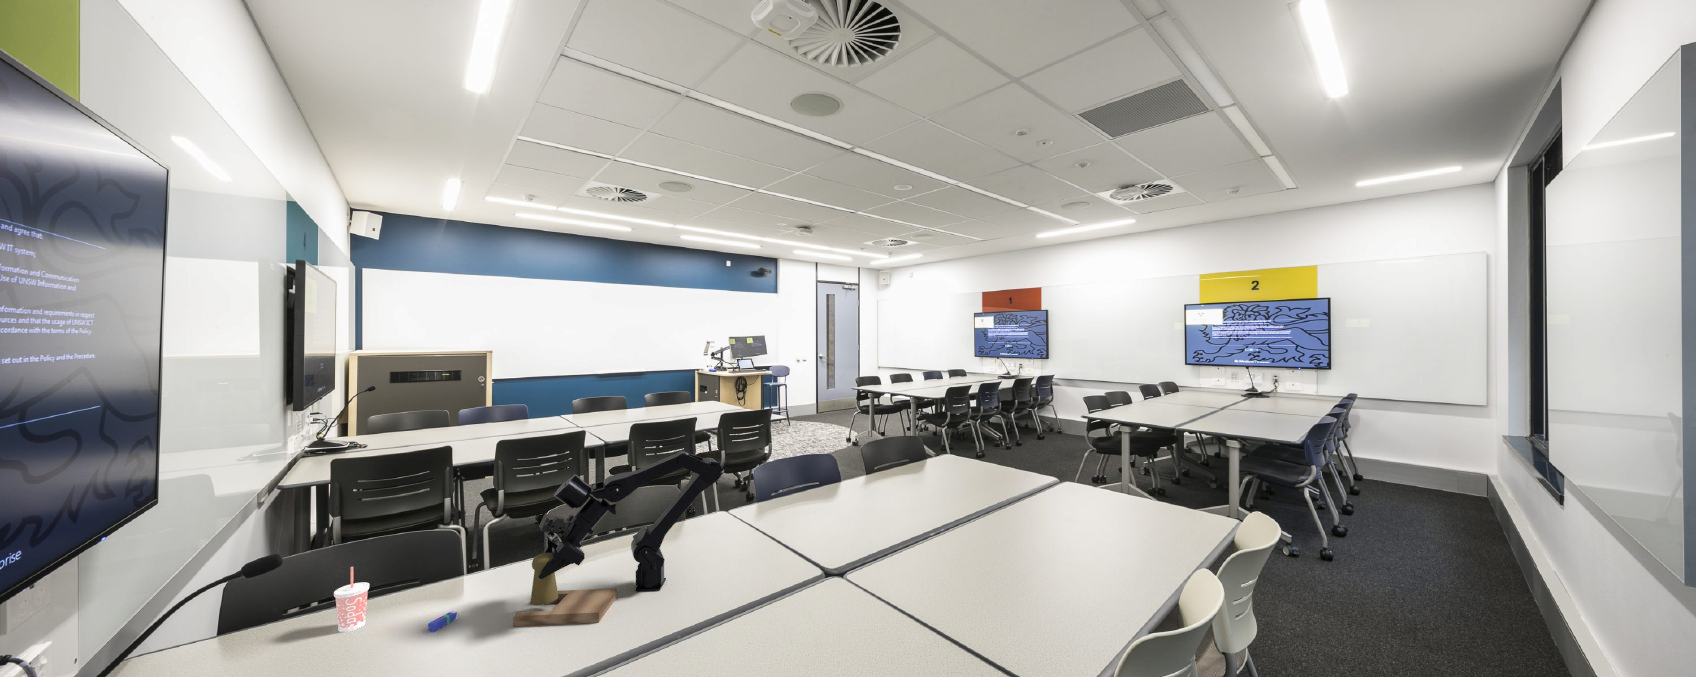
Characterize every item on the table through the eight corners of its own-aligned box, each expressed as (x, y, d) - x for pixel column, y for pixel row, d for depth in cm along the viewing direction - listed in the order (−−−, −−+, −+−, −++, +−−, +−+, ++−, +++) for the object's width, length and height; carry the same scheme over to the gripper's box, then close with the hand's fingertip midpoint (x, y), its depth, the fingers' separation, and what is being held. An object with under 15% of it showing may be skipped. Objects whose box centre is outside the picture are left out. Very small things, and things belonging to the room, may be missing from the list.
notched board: (616, 597, 137) (616, 588, 137) (598, 622, 125) (598, 612, 125) (538, 600, 135) (538, 591, 135) (512, 626, 123) (512, 615, 123)
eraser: (458, 618, 127) (458, 610, 127) (434, 632, 121) (434, 623, 121) (451, 618, 127) (451, 609, 127) (427, 631, 121) (427, 622, 121)
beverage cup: (329, 636, 119) (328, 574, 119) (339, 623, 124) (339, 564, 124) (364, 629, 122) (364, 569, 121) (373, 616, 127) (373, 559, 127)
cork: (564, 595, 131) (563, 551, 131) (542, 607, 126) (542, 561, 126) (545, 591, 133) (545, 548, 133) (524, 603, 128) (523, 557, 128)
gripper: (554, 493, 139) (505, 545, 132) (568, 511, 124) (514, 571, 118) (586, 516, 144) (541, 567, 137) (604, 535, 129) (555, 594, 123)
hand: (537, 574), depth 129 cm, fingers closed on cork, 5 cm apart
